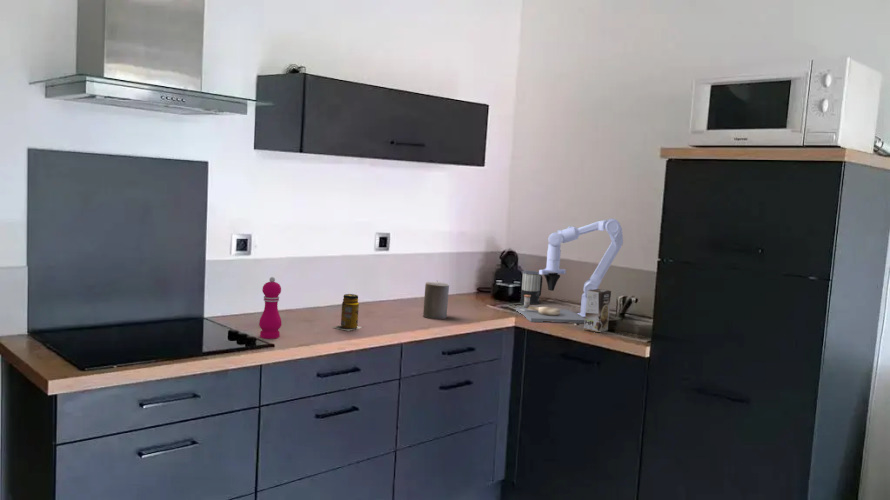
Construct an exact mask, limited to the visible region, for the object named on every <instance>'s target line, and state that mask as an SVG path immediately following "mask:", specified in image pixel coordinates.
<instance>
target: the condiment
mask: <svg viewBox="0 0 890 500" xmlns="http://www.w3.org/2000/svg"><path fill="white" fill-rule="evenodd" d="M359 304H360V303H359V295H358V294H353V293H346V294H344V295H343V299H342V303H341V314H340V318H341V319H340V325H337V326H332V328H334V329H338V330H343V331H347V332H350V331H352V330H353V331H354V330H358V329H362V328H363V327H362V326H358V324H359V323H358V322H359V306H360V305H359Z"/></svg>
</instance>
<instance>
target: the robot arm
mask: <svg viewBox="0 0 890 500" xmlns="http://www.w3.org/2000/svg"><path fill="white" fill-rule="evenodd" d="M595 231H599V232H605V231H606V233H607V234H608V235H609V239H610V244H609V246H608V247H607V249H606V250H605V252H604V254H603V256H602V258H601V260H600V261H599V263H598V265H597V266H596V268H595V270H594V272H593V273H592V274H591V276H590V277H589V279H587V280H585V282H584V283H583V289H582V290H583V293H582V294H581V301H580V312H577V313H576V314H577V315H579V316H581V317H582V318H585V313H586V302H587V292H588V290H594V289H599V287H600V285H601V282H602V281H603V279H604V276H605V275H606V273H607V272H608V270H609V268H610V267H611V265H612V263H613V262H614V260H615V258H616V256H617V255H618V253H619V251H620V250H621V248H622V246H623V244H624V237H623V236H624V235H623V228H622V225H621V223H620V222H619V221H618V220H617V219H616V218H608V219H602V220H598V221H595V222H592V223H590V224H586V225H583V226H581V227H578V228H577V227H575V226H571V225H570V226H567V228H565V229H561V230H560V229H558V230H557V232H556V231H555V232H552V233H551V234H549V236H548V239H547V241H548V244H547V254H546V267H545V268H544V269H539V270H538V272H539V274H541V276H544V278H545V279H546V284H547V289H548V291H553V292H554V290H555V287H556V285H557V283H558V281H559V280H560V277H561V275H562V274H563V275H565V274H566V271H567V270H566V269H564V268H560V265H561V252H562V250H561V245H562V243H563V244H566V243H568V242H573V241H575V240H578V239H579V237H580V236H581V235H584V234H588V233H591V232H595Z"/></svg>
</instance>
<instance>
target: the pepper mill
mask: <svg viewBox="0 0 890 500" xmlns="http://www.w3.org/2000/svg"><path fill="white" fill-rule="evenodd" d="M261 289H262V293H263V295H264V296H263V301H264V309H263V312H262V313H261V316H260V319H259V322H258V323H259V324H258V327H259V328H260V329H261V330H260V334H259V336H260V338H261V339H264V340H272V339H278V338H280V337H281V333H280V331H279V330H280V328H281V327H282V317H281V315H280V312H279V308H278V306H279V305H278V304H279V301H280V296H279V295H280V294H281V292H282V287H281V285H280V283H278V282H276V279H275V277H274V276H272V277H270V278H269V281H268V282H265V283H264V284H263V286H262V288H261Z"/></svg>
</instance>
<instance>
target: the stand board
mask: <svg viewBox="0 0 890 500" xmlns="http://www.w3.org/2000/svg"><path fill="white" fill-rule="evenodd" d="M559 309H560V315H544V314H540V313H538V311H536V310H528V309H526V308H524V307H515V311H516V312H517V311H518V312H519V313H521V314H523V315H524V316H525V317H526V318H525V317H524V316H523V317H524V318H525V319H526V320H528V322H531V323H544V322H543V321H554V322H574V323H573V324H580V323H584V324H585V317H582V316H580V315H578V314H577V313H575V312H574V311H572V310H570V309H567V308H565V309H564V308H559ZM518 312H517V313H518ZM519 313H518V314H519ZM521 314H520V315H521Z"/></svg>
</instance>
